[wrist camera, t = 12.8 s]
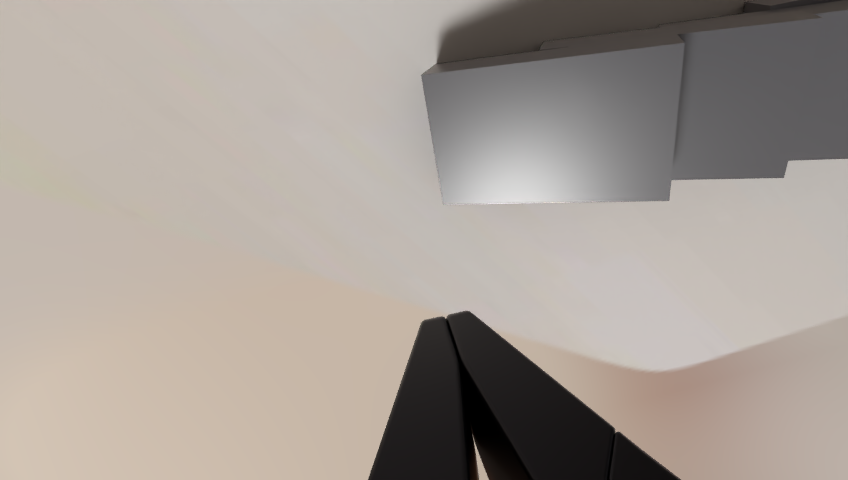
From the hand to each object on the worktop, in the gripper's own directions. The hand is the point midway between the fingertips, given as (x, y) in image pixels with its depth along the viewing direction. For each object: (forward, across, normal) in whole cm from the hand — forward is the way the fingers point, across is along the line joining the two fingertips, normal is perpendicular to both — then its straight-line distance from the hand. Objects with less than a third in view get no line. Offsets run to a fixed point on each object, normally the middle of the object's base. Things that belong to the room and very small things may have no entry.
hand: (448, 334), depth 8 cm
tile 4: (+11, -6, 0) cm, 13 cm away
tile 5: (+11, -2, 0) cm, 11 cm away
